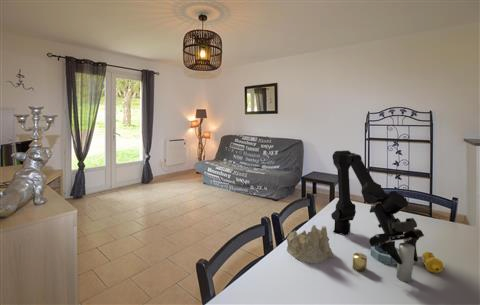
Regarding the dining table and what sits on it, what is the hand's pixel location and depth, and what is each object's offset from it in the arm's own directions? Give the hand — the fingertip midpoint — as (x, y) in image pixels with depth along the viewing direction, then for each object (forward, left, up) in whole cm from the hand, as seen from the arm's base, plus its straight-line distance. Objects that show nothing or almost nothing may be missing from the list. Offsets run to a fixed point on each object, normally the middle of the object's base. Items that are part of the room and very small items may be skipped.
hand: (408, 262), depth 86 cm
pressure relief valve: (+5, +12, -7) cm, 14 cm away
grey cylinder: (-1, +1, -7) cm, 7 cm away
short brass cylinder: (-15, -1, -7) cm, 16 cm away
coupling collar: (-7, +13, -7) cm, 16 cm away
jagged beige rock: (-34, +1, -7) cm, 35 cm away
